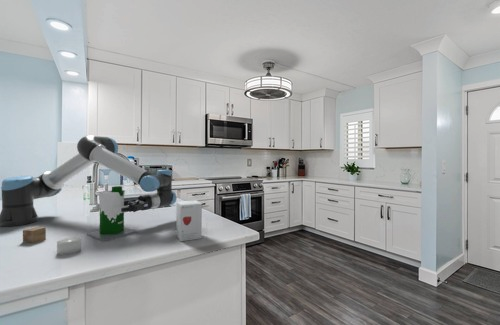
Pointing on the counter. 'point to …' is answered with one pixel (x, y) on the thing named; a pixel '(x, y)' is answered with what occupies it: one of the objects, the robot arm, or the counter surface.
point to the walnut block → (34, 234)
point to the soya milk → (107, 219)
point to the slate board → (110, 236)
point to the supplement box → (188, 220)
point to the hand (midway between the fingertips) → (104, 209)
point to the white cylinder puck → (68, 246)
